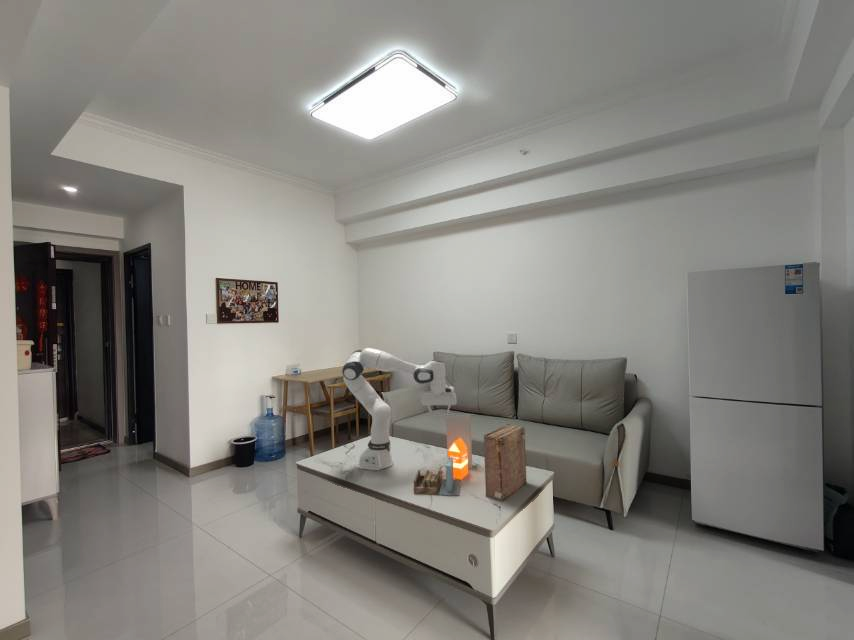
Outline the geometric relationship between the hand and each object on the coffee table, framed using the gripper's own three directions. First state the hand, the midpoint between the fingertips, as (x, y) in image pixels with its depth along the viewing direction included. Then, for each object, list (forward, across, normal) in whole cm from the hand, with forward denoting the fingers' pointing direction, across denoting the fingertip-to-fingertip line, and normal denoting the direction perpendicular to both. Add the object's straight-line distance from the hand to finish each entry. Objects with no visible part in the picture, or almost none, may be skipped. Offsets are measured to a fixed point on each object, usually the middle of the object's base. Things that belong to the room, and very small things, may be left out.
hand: (439, 412), depth 222 cm
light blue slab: (+34, +7, -19) cm, 39 cm away
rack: (+34, -5, -19) cm, 39 cm away
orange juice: (+34, +10, -3) cm, 36 cm away
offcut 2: (+34, -2, -19) cm, 39 cm away
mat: (+34, +7, -19) cm, 40 cm away
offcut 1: (+34, -4, -19) cm, 39 cm away
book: (+34, +36, -19) cm, 53 cm away
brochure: (+34, +10, +10) cm, 37 cm away
